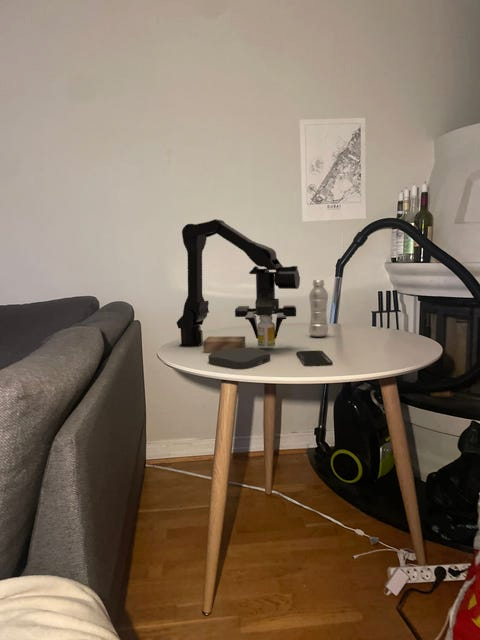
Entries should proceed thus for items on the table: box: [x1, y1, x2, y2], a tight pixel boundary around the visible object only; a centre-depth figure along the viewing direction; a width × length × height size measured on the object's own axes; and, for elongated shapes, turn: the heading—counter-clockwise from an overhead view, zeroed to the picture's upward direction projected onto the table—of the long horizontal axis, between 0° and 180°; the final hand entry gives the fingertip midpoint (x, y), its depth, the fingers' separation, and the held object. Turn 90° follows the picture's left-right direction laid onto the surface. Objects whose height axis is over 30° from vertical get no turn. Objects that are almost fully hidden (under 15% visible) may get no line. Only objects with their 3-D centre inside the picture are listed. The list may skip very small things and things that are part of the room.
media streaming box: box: [208, 347, 271, 370], centre depth 121 cm, size 15×15×3 cm
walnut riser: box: [202, 335, 247, 354], centre depth 135 cm, size 12×8×4 cm, turn 82°
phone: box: [296, 350, 333, 367], centre depth 120 cm, size 8×1×15 cm
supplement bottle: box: [257, 314, 276, 349], centre depth 134 cm, size 5×5×10 cm
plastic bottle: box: [308, 279, 329, 338], centre depth 151 cm, size 6×7×20 cm
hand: (266, 338), depth 135 cm, fingers closed on supplement bottle, 5 cm apart
